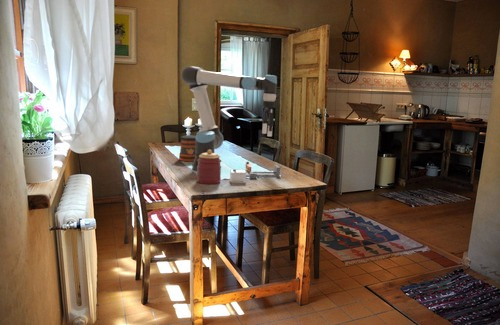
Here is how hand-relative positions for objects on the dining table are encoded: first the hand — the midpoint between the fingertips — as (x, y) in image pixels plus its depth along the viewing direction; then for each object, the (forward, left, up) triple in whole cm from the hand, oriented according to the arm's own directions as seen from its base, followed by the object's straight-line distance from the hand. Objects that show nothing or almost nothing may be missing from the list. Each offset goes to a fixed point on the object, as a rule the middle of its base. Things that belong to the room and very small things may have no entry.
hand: (266, 135), depth 242 cm
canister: (-37, -32, -23) cm, 54 cm away
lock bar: (-11, -4, -22) cm, 25 cm away
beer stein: (-45, +31, -23) cm, 60 cm away
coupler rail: (-5, -15, -23) cm, 28 cm away
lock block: (-21, -31, -23) cm, 44 cm away
